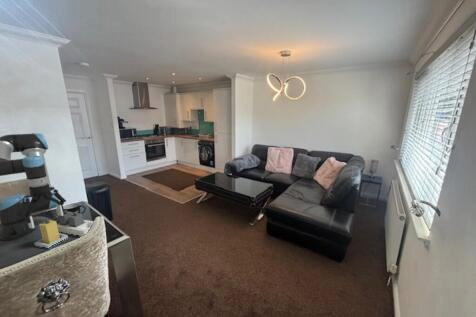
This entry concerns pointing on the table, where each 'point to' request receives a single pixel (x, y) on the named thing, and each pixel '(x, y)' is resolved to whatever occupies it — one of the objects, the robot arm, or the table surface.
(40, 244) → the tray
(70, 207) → the mug
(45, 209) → the robot arm
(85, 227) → the strip
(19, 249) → the table surface
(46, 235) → the plug
